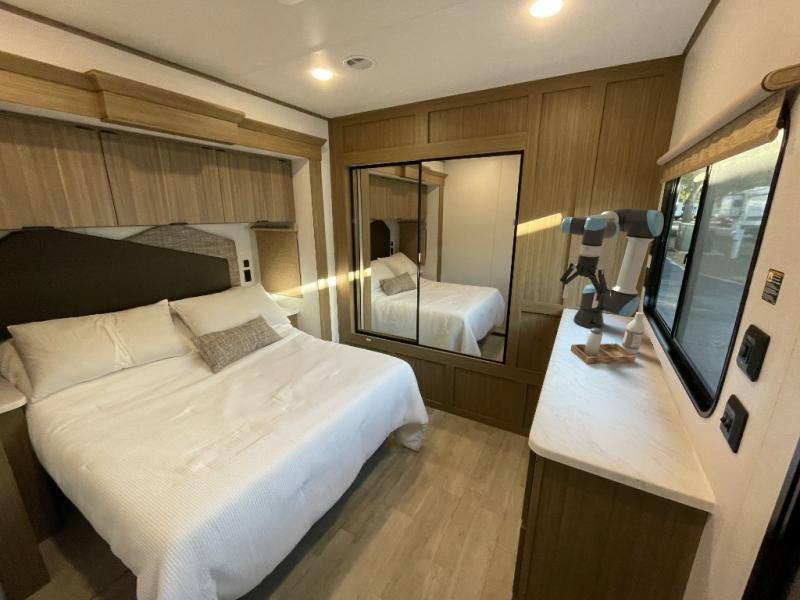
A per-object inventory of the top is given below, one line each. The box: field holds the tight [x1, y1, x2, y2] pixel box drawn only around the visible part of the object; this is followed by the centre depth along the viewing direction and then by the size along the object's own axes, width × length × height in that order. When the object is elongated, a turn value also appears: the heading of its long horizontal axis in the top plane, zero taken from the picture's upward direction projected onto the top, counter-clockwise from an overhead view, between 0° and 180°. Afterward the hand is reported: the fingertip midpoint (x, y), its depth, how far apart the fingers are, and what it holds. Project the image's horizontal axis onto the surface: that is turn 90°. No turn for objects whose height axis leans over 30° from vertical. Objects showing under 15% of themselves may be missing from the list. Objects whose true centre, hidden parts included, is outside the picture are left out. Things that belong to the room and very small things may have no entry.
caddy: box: [570, 342, 637, 365], centre depth 152 cm, size 23×13×3 cm, turn 94°
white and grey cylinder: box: [584, 328, 604, 357], centre depth 150 cm, size 6×6×13 cm
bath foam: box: [620, 311, 645, 355], centre depth 155 cm, size 7×7×20 cm
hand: (579, 302), depth 144 cm, fingers open, 13 cm apart
